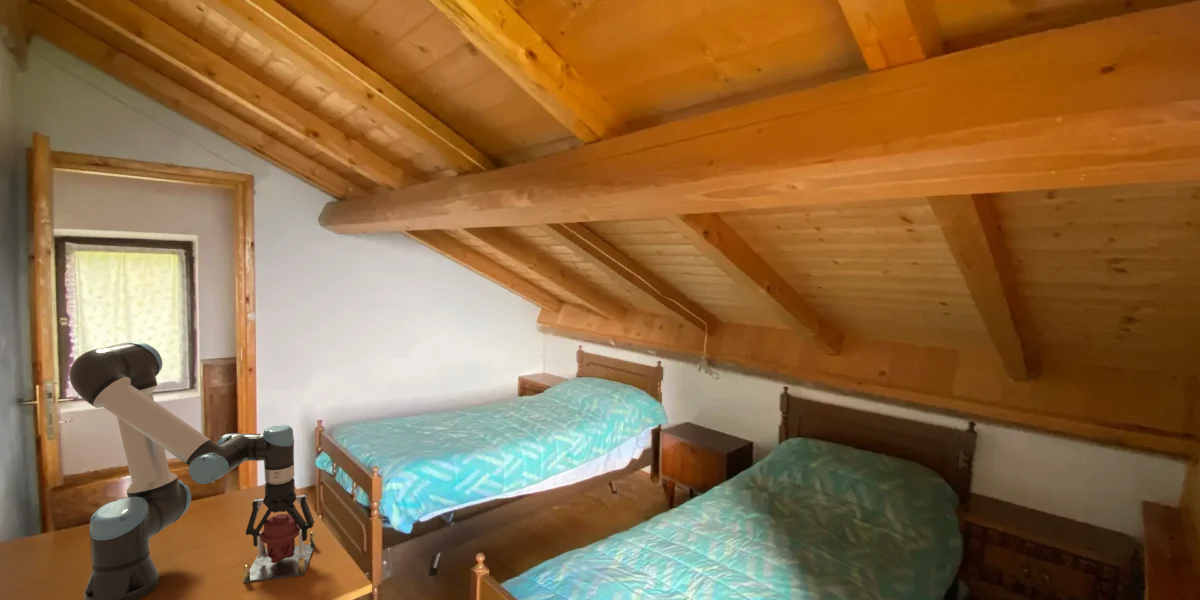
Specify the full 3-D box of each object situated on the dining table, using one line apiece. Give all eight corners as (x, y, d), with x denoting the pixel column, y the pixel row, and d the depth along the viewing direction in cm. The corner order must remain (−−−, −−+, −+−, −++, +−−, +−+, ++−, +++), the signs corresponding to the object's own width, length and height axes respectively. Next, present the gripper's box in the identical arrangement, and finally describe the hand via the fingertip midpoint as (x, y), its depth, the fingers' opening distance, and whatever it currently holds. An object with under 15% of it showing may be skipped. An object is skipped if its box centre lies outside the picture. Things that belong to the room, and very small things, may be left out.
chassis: (243, 582, 155) (242, 567, 155) (260, 551, 171) (260, 536, 171) (303, 575, 159) (303, 560, 159) (315, 544, 176) (315, 531, 175)
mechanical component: (308, 550, 169) (283, 568, 159) (279, 546, 171) (252, 564, 161) (307, 511, 168) (282, 527, 158) (278, 507, 170) (251, 522, 160)
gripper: (230, 488, 156) (232, 565, 158) (320, 481, 163) (321, 555, 165) (239, 478, 163) (241, 551, 165) (324, 471, 170) (325, 542, 172)
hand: (281, 553), depth 165 cm, fingers closed on mechanical component, 10 cm apart
